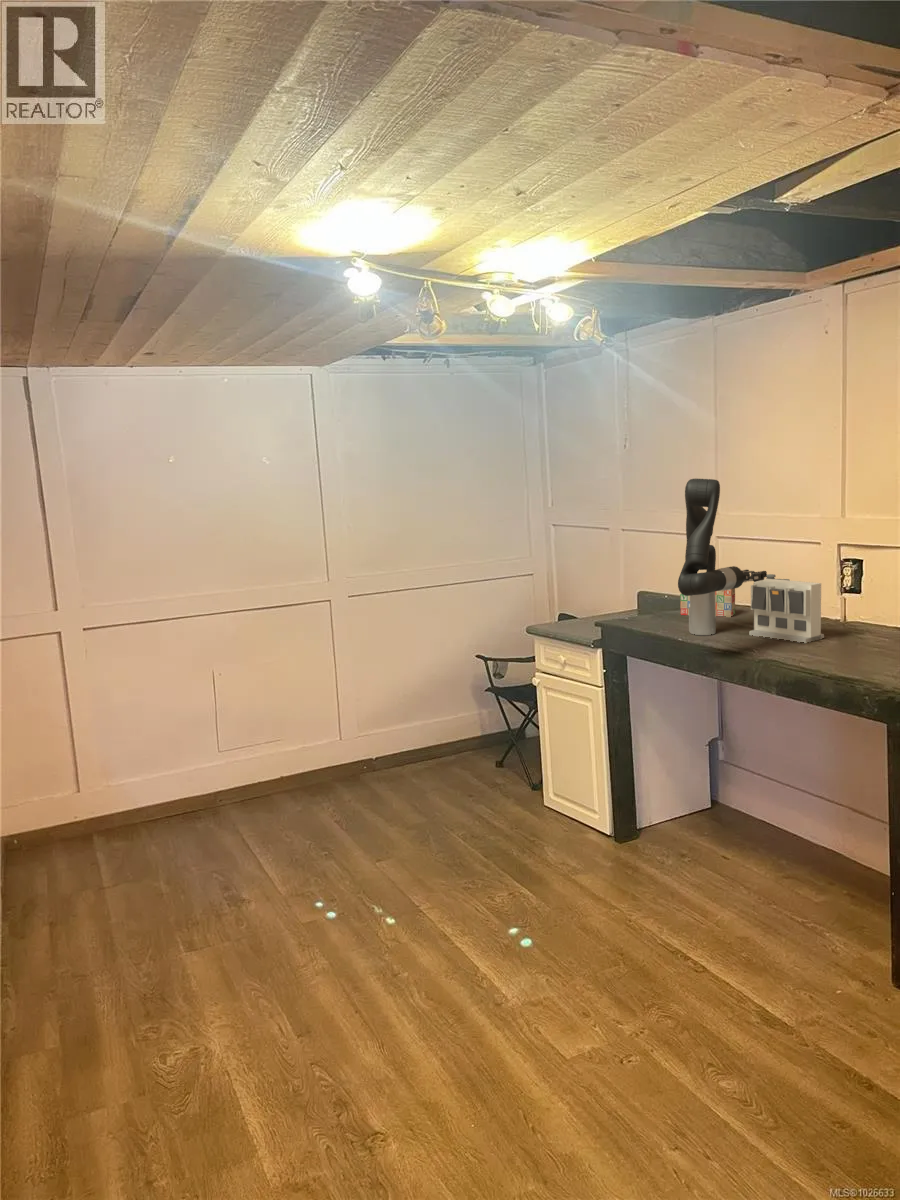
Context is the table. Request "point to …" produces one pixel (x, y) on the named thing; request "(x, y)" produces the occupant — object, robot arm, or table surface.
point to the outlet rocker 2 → (796, 601)
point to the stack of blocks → (722, 603)
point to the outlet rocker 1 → (777, 599)
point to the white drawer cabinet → (789, 613)
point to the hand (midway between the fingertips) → (756, 573)
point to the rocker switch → (759, 598)
